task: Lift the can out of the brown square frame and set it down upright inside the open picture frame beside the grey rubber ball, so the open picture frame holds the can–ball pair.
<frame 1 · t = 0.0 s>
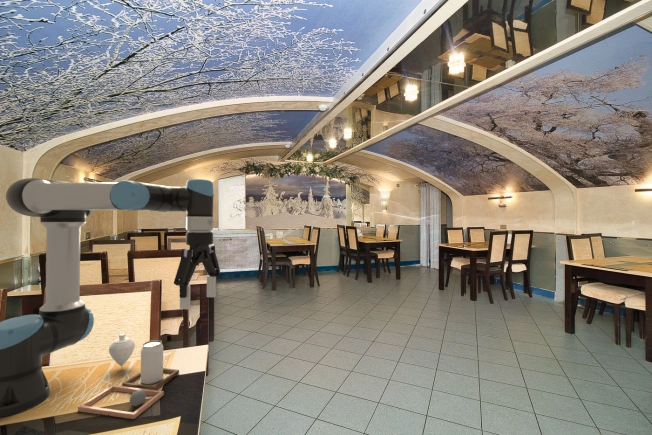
hand: (199, 302, 96), 28 cm above the table, fingers open, 13 cm apart
ball: (137, 404, 91), resting in open picture frame
brown square frame: (151, 380, 105), on the table
spinning top: (121, 368, 113), on the table
open picture frame: (122, 402, 92), on the table
can: (151, 380, 105), resting in brown square frame
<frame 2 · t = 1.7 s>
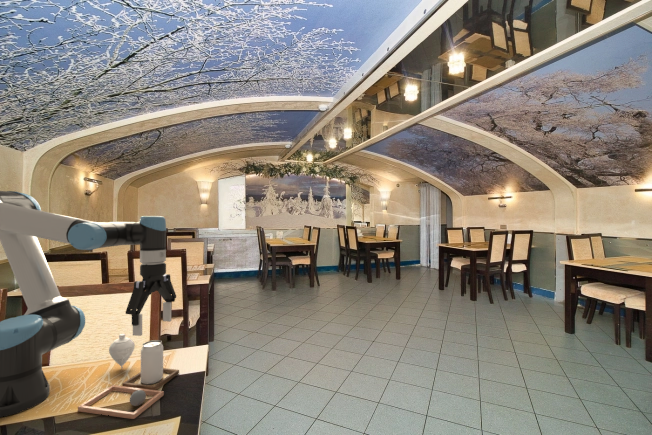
hand: (153, 327, 105), 17 cm above the table, fingers open, 13 cm apart
nothing on the table moved.
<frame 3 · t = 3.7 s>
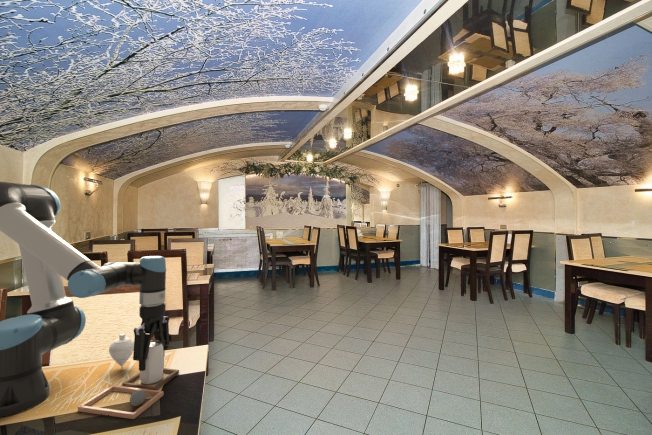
hand: (152, 374, 105), 2 cm above the table, fingers closed on can, 6 cm apart
can: (151, 380, 105), resting in brown square frame, touching gripper
everything else where it was.
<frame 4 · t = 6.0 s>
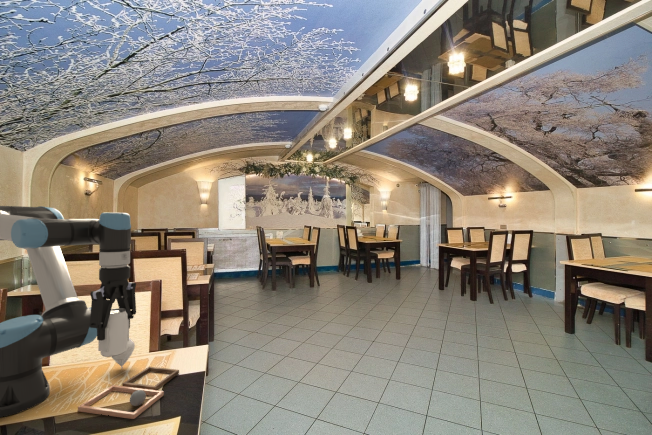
hand: (114, 345, 92), 16 cm above the table, fingers closed on can, 6 cm apart
can: (114, 353, 92), point 14 cm above the table, touching gripper
everything else where it was.
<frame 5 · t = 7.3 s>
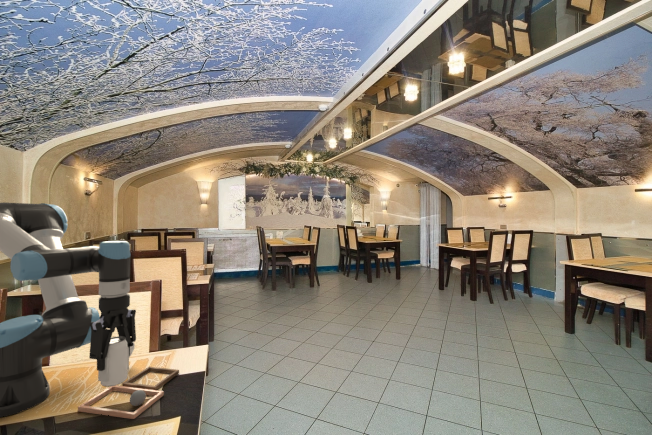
hand: (114, 374, 92), 8 cm above the table, fingers closed on can, 6 cm apart
can: (114, 382, 92), point 6 cm above the table, touching gripper
everything else where it was.
when the fingers open (3 cm above the table, at t = 8.5 s): can drops 1 cm, resting in open picture frame.
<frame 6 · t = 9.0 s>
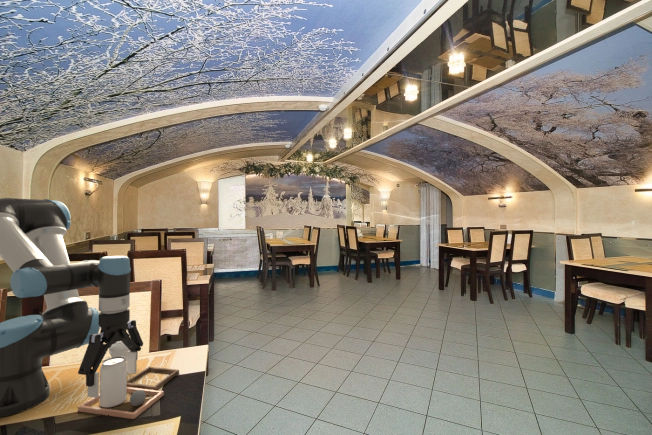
hand: (113, 384, 92), 5 cm above the table, fingers open, 13 cm apart
can: (113, 402, 92), resting in open picture frame
everything else where it was.
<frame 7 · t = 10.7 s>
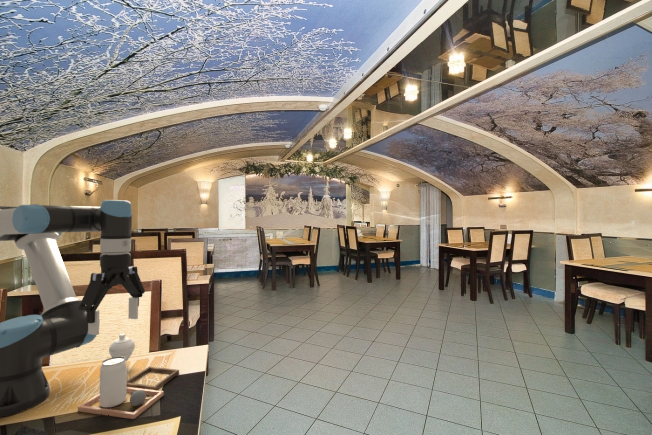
hand: (114, 325, 93), 22 cm above the table, fingers open, 13 cm apart
nothing on the table moved.
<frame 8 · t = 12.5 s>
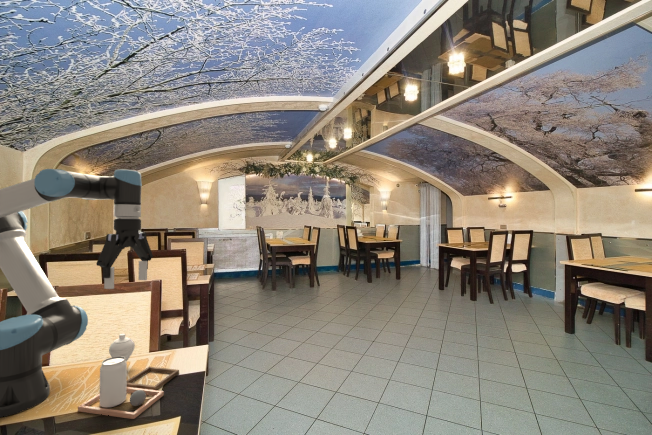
hand: (127, 284, 103), 32 cm above the table, fingers open, 13 cm apart
nothing on the table moved.
at the end: can inside the target area on the open picture frame (0.1 cm from its centre), point 0.0 cm above the open picture frame's base; can tilted 0°; ball inside the target area on the open picture frame (0.8 cm from its centre), point 0.0 cm above the open picture frame's base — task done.
